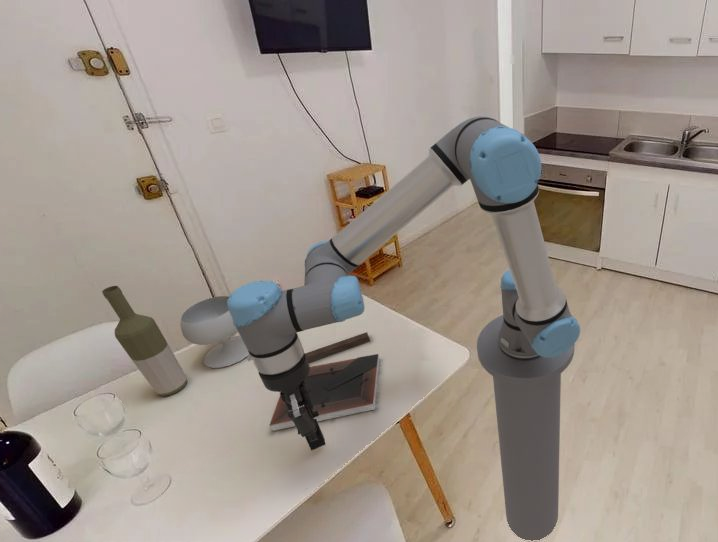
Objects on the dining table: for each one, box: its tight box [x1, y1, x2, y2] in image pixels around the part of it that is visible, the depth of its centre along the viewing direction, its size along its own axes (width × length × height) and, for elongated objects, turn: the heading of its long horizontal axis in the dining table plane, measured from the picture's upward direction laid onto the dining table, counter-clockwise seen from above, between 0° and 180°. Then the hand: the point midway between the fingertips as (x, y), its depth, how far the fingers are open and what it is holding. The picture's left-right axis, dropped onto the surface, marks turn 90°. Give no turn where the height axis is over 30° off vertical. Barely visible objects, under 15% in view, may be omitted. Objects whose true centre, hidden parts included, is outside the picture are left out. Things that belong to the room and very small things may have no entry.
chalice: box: [179, 295, 250, 369], centre depth 109 cm, size 14×14×15 cm
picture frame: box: [269, 353, 380, 432], centre depth 98 cm, size 16×2×22 cm
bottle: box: [101, 285, 188, 397], centre depth 94 cm, size 7×7×30 cm
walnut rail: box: [304, 331, 371, 364], centre depth 110 cm, size 24×2×2 cm, turn 120°
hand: (318, 444), depth 84 cm, fingers closed
